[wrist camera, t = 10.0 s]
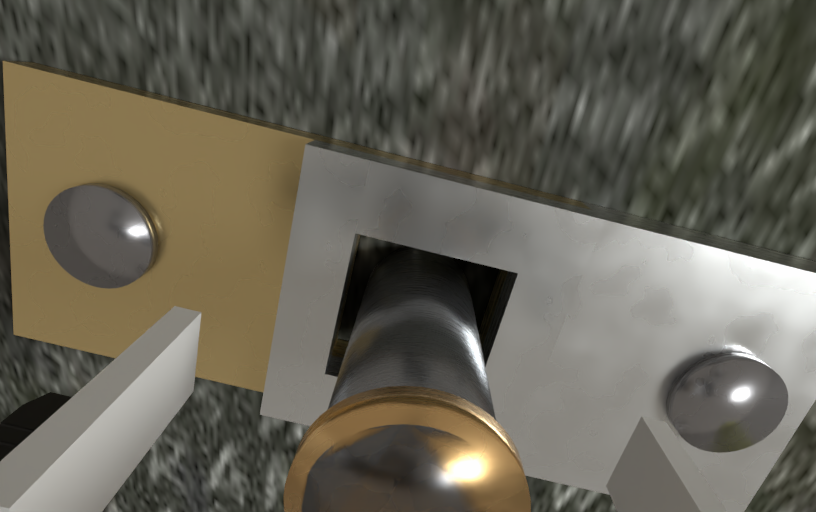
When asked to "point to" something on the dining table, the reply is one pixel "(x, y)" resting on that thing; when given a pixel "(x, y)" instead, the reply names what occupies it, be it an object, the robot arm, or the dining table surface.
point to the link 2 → (567, 320)
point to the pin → (410, 406)
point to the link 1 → (156, 218)
